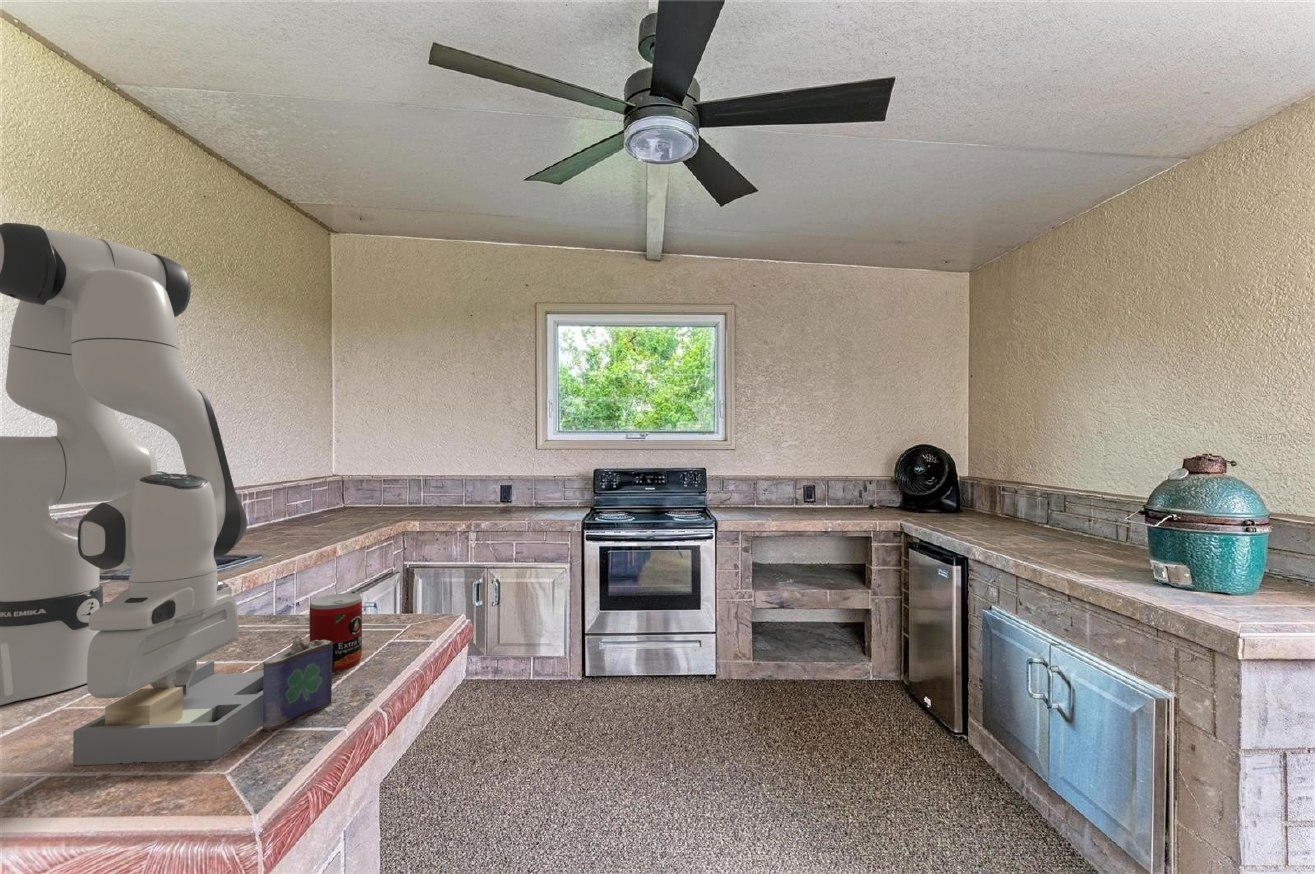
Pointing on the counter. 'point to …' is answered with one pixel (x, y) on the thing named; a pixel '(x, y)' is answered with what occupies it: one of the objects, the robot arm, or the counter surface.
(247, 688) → the grey compartment tray
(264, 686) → the flask
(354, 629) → the canned food
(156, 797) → the counter surface
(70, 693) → the counter surface
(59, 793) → the counter surface
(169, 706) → the maple block
